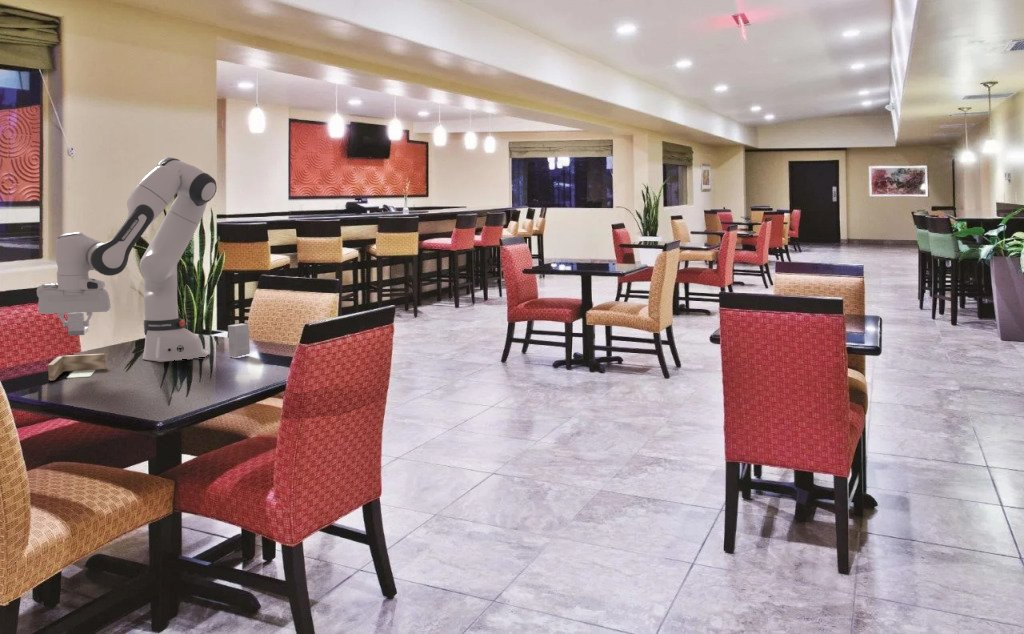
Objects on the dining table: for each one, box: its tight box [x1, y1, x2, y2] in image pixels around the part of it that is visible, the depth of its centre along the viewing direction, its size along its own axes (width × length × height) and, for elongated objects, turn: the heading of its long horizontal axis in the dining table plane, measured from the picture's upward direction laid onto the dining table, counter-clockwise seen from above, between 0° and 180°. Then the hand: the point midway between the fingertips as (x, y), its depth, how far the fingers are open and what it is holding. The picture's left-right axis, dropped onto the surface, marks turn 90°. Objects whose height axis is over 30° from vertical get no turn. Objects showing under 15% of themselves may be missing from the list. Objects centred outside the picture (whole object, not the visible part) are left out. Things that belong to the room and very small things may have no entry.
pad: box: [66, 369, 97, 379], centre depth 260 cm, size 7×11×1 cm, turn 19°
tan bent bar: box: [47, 353, 107, 382], centre depth 260 cm, size 14×16×5 cm
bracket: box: [66, 312, 89, 337], centre depth 258 cm, size 8×4×7 cm, turn 19°
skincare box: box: [227, 323, 251, 357], centre depth 289 cm, size 6×4×12 cm
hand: (76, 326), depth 255 cm, fingers closed on bracket, 4 cm apart
